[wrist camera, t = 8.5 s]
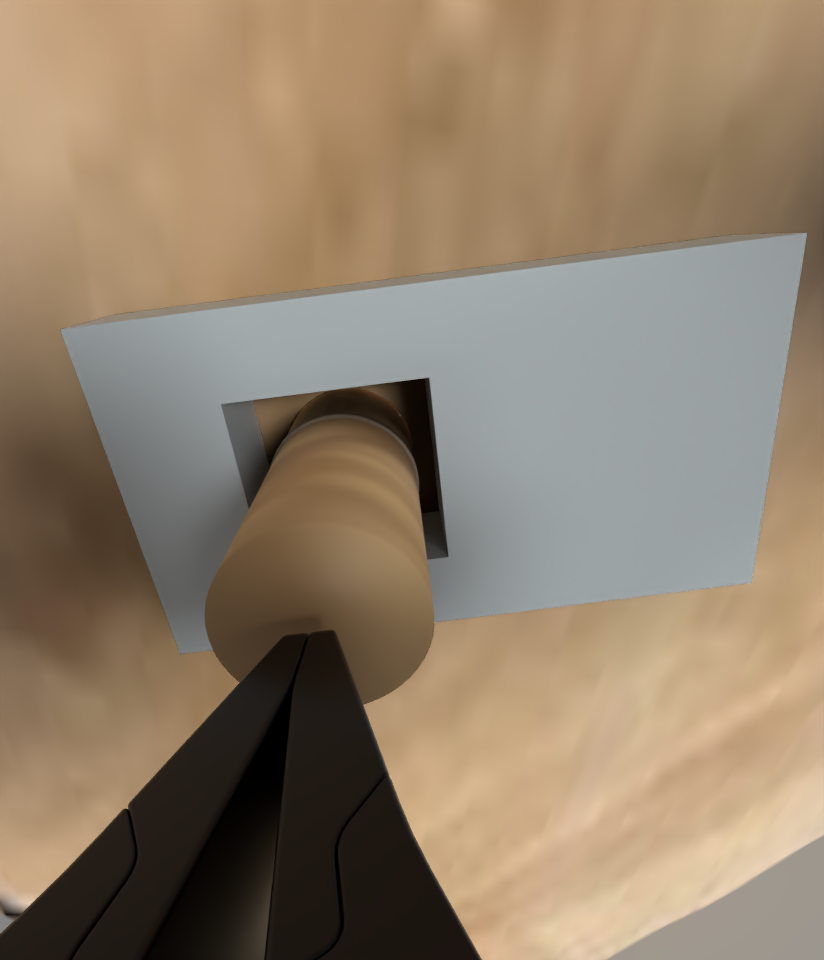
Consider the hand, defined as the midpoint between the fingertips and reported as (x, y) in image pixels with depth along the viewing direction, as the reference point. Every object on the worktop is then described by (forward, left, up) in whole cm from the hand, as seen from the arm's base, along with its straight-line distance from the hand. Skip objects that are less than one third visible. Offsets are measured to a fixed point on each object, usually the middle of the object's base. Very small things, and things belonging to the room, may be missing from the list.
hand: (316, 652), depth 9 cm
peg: (0, 0, -10) cm, 10 cm away
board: (-3, 0, -10) cm, 10 cm away
